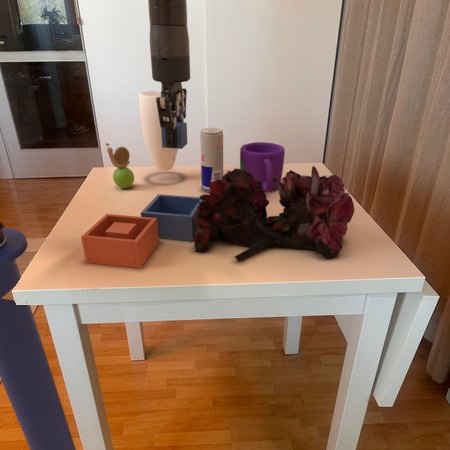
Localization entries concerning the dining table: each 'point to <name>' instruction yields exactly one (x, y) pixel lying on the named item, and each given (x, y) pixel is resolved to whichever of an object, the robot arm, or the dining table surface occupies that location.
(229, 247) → the dining table surface
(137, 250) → the terracotta bin
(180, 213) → the blue bin
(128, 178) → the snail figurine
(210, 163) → the beverage can
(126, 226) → the terracotta block
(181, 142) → the blue block
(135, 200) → the dining table surface
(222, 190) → the flower arrangement
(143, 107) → the white vase
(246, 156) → the mug
